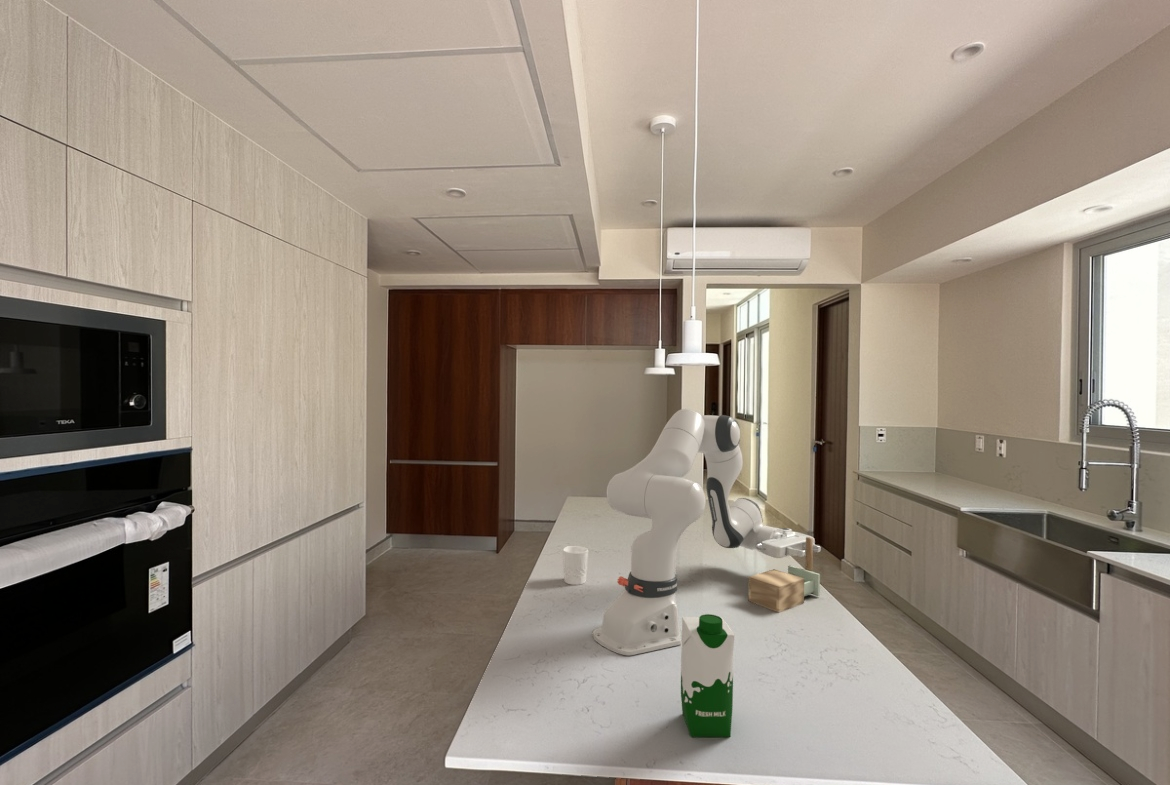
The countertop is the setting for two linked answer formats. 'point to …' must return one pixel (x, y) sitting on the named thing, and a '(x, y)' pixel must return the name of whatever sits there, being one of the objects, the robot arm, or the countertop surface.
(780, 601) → the tan wooden block
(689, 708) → the milk carton
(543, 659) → the countertop surface
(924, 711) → the countertop surface
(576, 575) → the white cup
